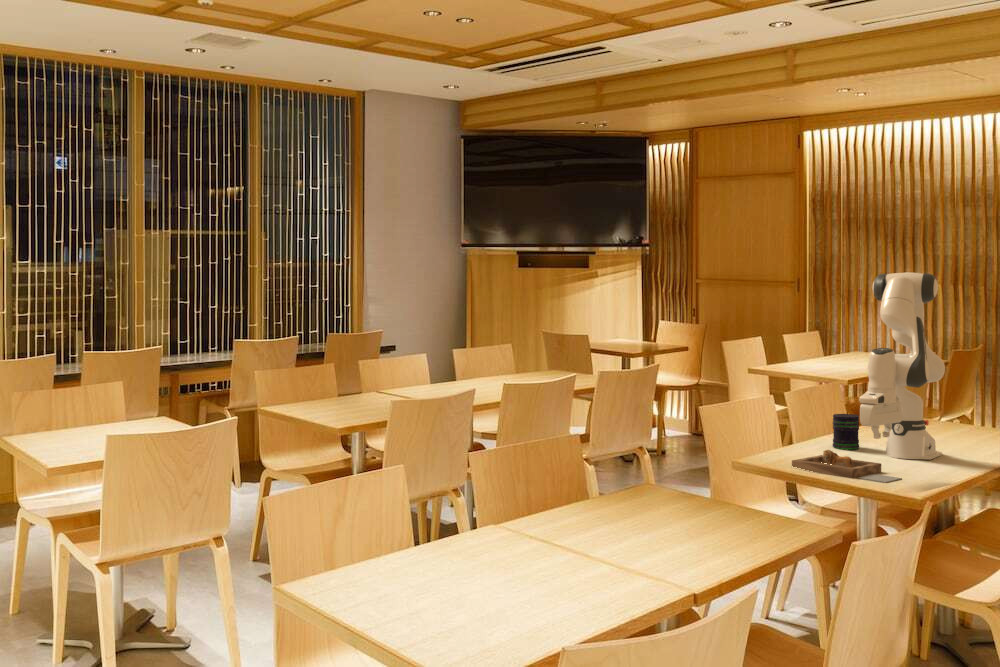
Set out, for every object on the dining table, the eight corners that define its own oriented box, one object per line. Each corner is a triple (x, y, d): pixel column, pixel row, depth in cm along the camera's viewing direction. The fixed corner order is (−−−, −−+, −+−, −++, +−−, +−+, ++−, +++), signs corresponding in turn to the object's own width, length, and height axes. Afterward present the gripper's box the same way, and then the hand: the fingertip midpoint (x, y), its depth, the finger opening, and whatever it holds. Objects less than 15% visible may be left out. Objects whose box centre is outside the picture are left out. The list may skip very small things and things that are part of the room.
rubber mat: (874, 475, 329) (874, 474, 329) (901, 479, 321) (902, 478, 321) (858, 478, 323) (858, 477, 323) (885, 483, 315) (885, 481, 315)
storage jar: (862, 455, 371) (863, 416, 370) (837, 455, 371) (837, 416, 371) (853, 451, 381) (854, 413, 380) (829, 451, 381) (829, 413, 380)
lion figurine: (821, 470, 339) (821, 450, 339) (824, 468, 342) (824, 448, 342) (857, 473, 333) (857, 452, 332) (859, 471, 336) (859, 450, 336)
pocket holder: (821, 463, 354) (821, 455, 354) (881, 472, 335) (881, 463, 335) (791, 468, 343) (791, 460, 343) (851, 478, 324) (851, 469, 324)
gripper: (890, 394, 329) (889, 434, 330) (856, 397, 317) (856, 439, 317) (907, 395, 324) (907, 436, 325) (873, 399, 312) (873, 441, 312)
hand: (881, 437), depth 321 cm, fingers open, 4 cm apart
